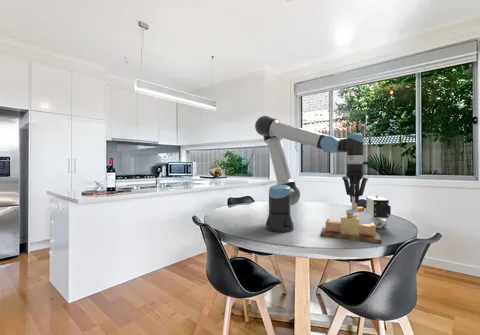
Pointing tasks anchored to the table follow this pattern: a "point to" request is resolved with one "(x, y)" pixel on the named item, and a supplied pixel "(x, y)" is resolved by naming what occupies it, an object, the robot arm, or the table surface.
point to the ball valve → (378, 210)
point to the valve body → (350, 226)
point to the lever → (354, 210)
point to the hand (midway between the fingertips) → (354, 209)
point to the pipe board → (350, 237)
